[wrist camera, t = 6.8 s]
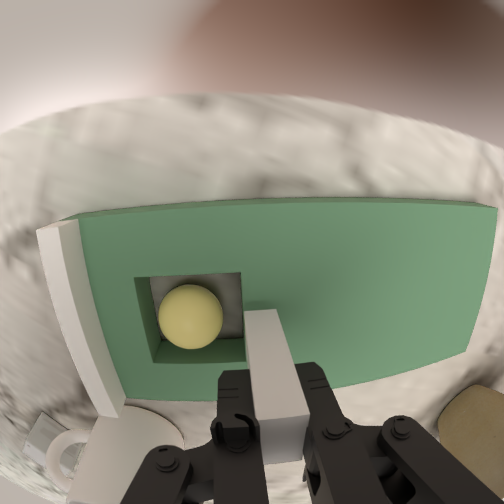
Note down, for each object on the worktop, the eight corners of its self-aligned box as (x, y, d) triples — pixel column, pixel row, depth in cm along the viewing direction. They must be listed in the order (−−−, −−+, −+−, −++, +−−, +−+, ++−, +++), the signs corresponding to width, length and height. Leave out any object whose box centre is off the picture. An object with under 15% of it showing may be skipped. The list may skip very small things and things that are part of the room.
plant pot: (418, 400, 22) (490, 509, 7) (507, 339, 22) (583, 407, 6) (405, 459, 26) (446, 538, 11) (483, 409, 26) (531, 470, 11)
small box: (35, 426, 20) (20, 453, 16) (42, 409, 19) (24, 439, 15) (74, 452, 22) (62, 481, 17) (86, 439, 21) (73, 472, 16)
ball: (209, 322, 18) (157, 336, 16) (203, 270, 17) (146, 283, 15) (236, 349, 15) (176, 370, 13) (233, 290, 14) (163, 308, 12)
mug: (77, 434, 20) (49, 506, 11) (56, 381, 18) (7, 463, 8) (186, 459, 22) (179, 545, 12) (184, 411, 20) (172, 523, 10)
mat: (117, 374, 18) (99, 415, 14) (77, 214, 15) (35, 229, 10) (449, 337, 20) (478, 363, 15) (475, 202, 16) (516, 213, 12)
